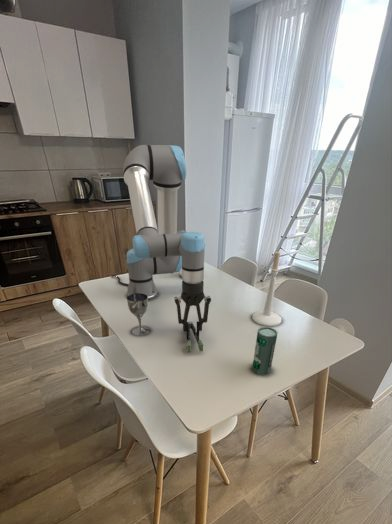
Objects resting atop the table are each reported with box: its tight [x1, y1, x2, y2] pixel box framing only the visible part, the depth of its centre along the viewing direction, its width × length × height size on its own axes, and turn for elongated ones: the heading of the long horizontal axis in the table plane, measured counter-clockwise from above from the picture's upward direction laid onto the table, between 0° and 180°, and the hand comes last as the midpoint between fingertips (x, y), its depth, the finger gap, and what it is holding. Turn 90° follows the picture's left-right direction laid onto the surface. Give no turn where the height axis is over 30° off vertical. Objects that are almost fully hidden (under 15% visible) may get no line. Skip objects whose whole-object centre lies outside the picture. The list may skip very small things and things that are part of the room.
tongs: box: [187, 320, 204, 353], centre depth 115 cm, size 19×6×3 cm, turn 7°
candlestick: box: [251, 251, 282, 327], centre depth 125 cm, size 13×13×30 cm
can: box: [251, 326, 279, 376], centre depth 98 cm, size 6×6×15 cm
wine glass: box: [126, 293, 151, 336], centre depth 119 cm, size 8×8×15 cm
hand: (192, 337), depth 116 cm, fingers closed on tongs, 3 cm apart
